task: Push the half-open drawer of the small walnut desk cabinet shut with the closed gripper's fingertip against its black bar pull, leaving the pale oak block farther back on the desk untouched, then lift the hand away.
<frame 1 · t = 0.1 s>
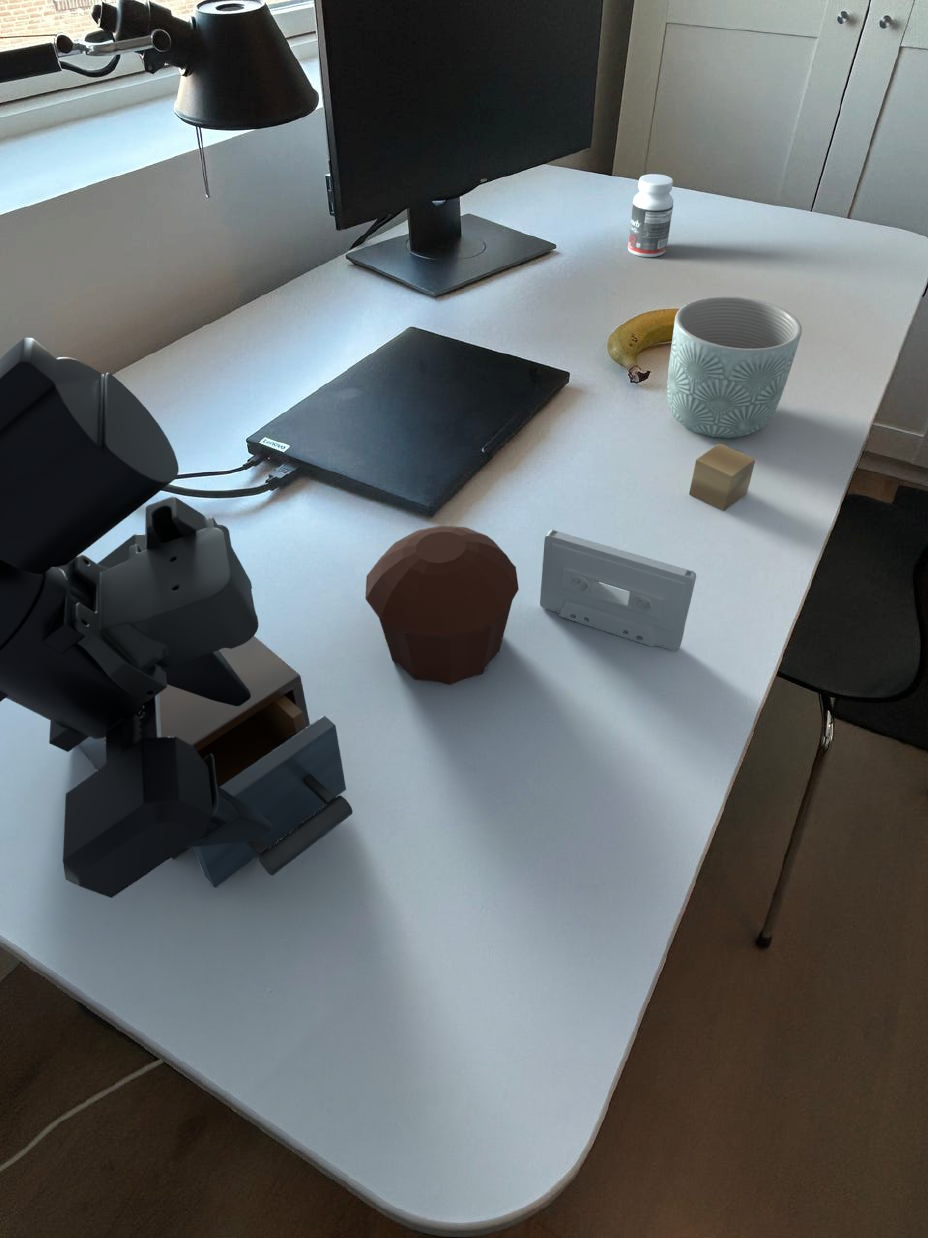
hand: (254, 761, 47), 12 cm above the table, tool tilted 30°, fingers open, 9 cm apart
planter: (716, 419, 96), on the table
pill bottle: (646, 252, 130), on the table
oak block: (717, 494, 85), on the table
drawer: (236, 766, 56), point 4 cm above the table, slide at 3.0 cm
muffin: (443, 646, 71), on the table
cabinet: (194, 749, 63), on the table
cassette: (608, 627, 72), on the table
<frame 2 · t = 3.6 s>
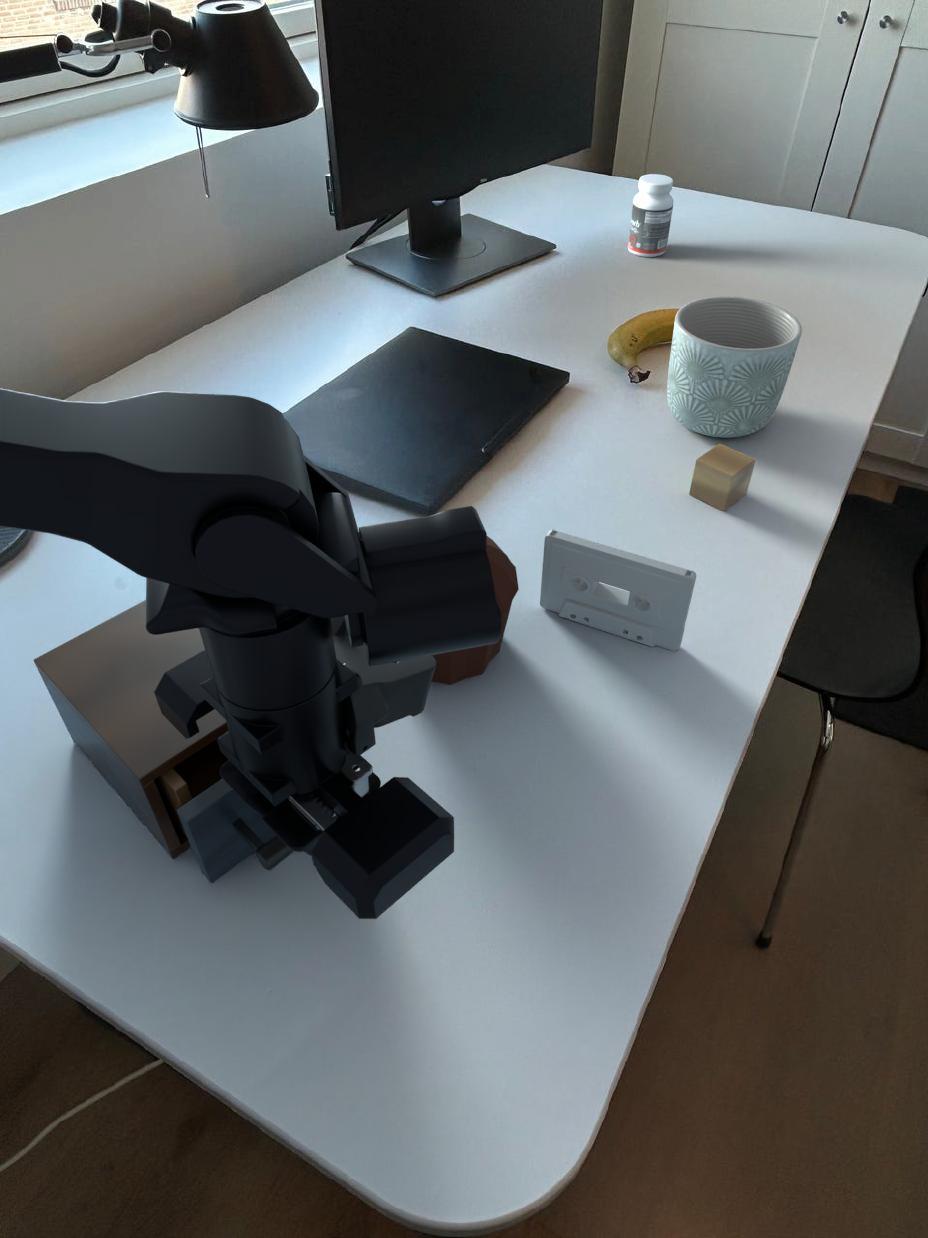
hand: (315, 847, 52), 4 cm above the table, tool pointing down, fingers closed
drawer: (232, 763, 57), point 4 cm above the table, slide at 2.6 cm, touching gripper
everything else where it was.
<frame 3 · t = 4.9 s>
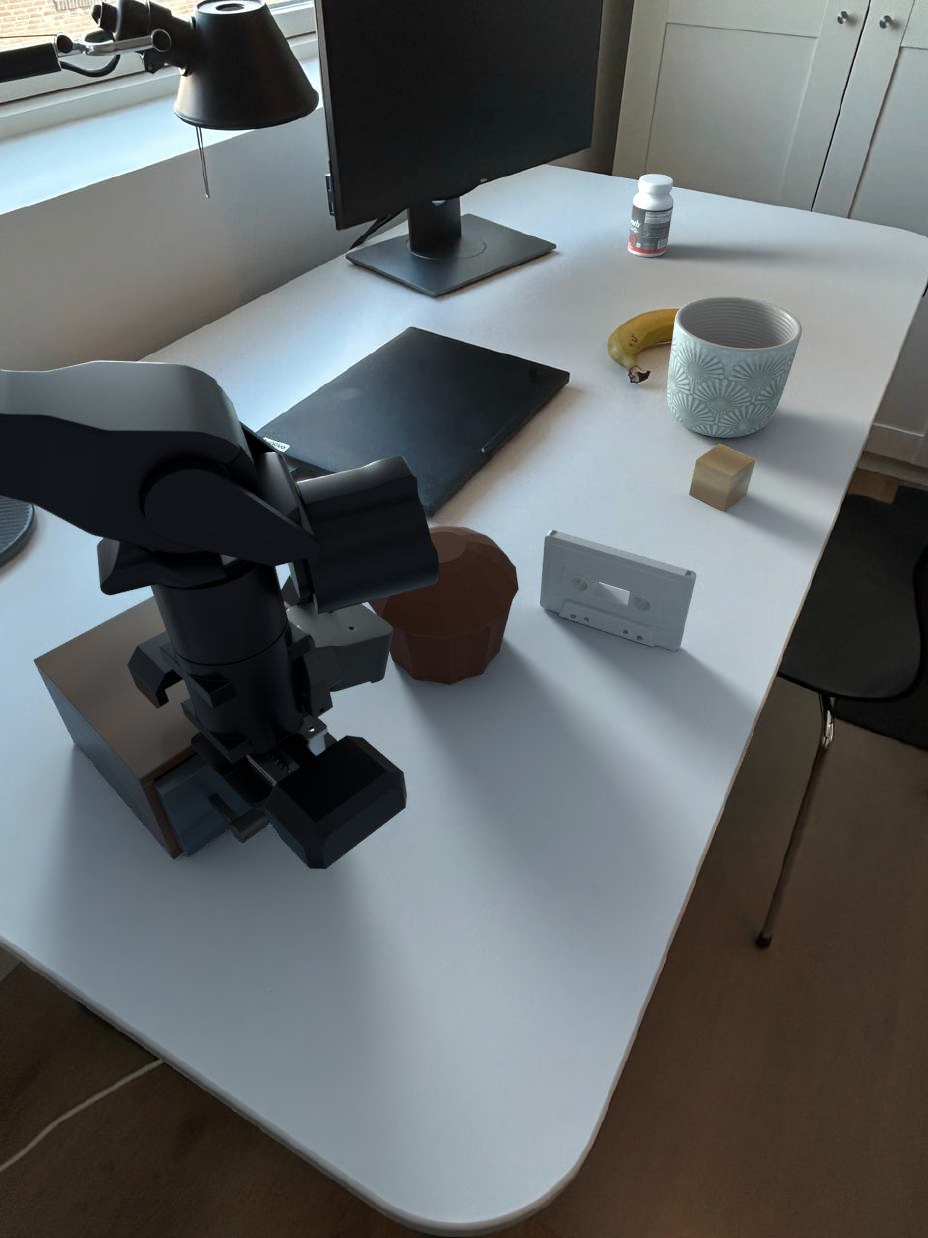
hand: (285, 817, 53), 4 cm above the table, tool pointing down, fingers closed, pressing on drawer
drawer: (210, 740, 58), point 4 cm above the table, slide at 0.0 cm, touching cabinet, gripper
everything else where it was.
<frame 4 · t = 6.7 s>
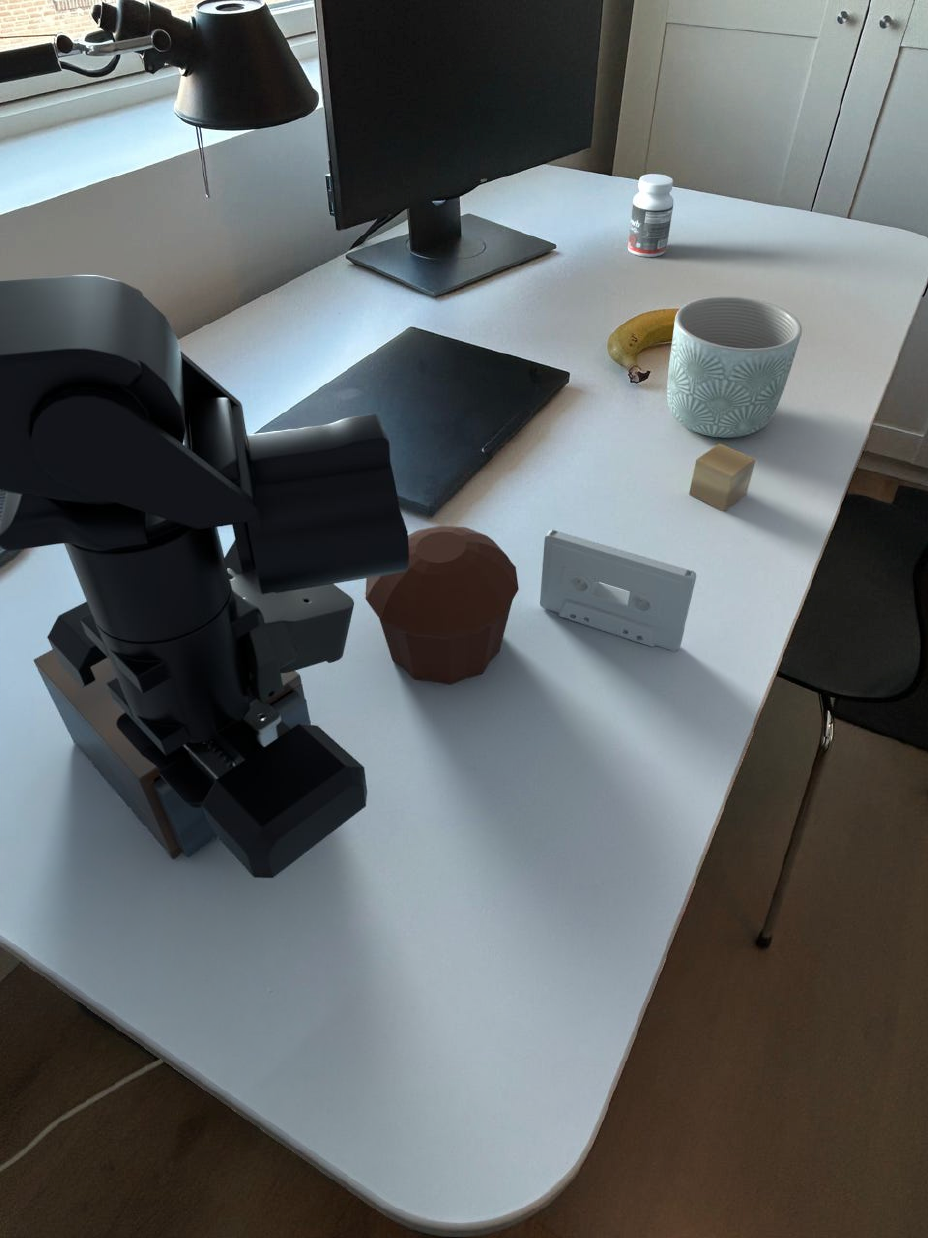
hand: (229, 809, 48), 10 cm above the table, tool pointing down, fingers closed
drawer: (210, 740, 58), point 4 cm above the table, slide at 0.0 cm, touching cabinet
everything else where it was.
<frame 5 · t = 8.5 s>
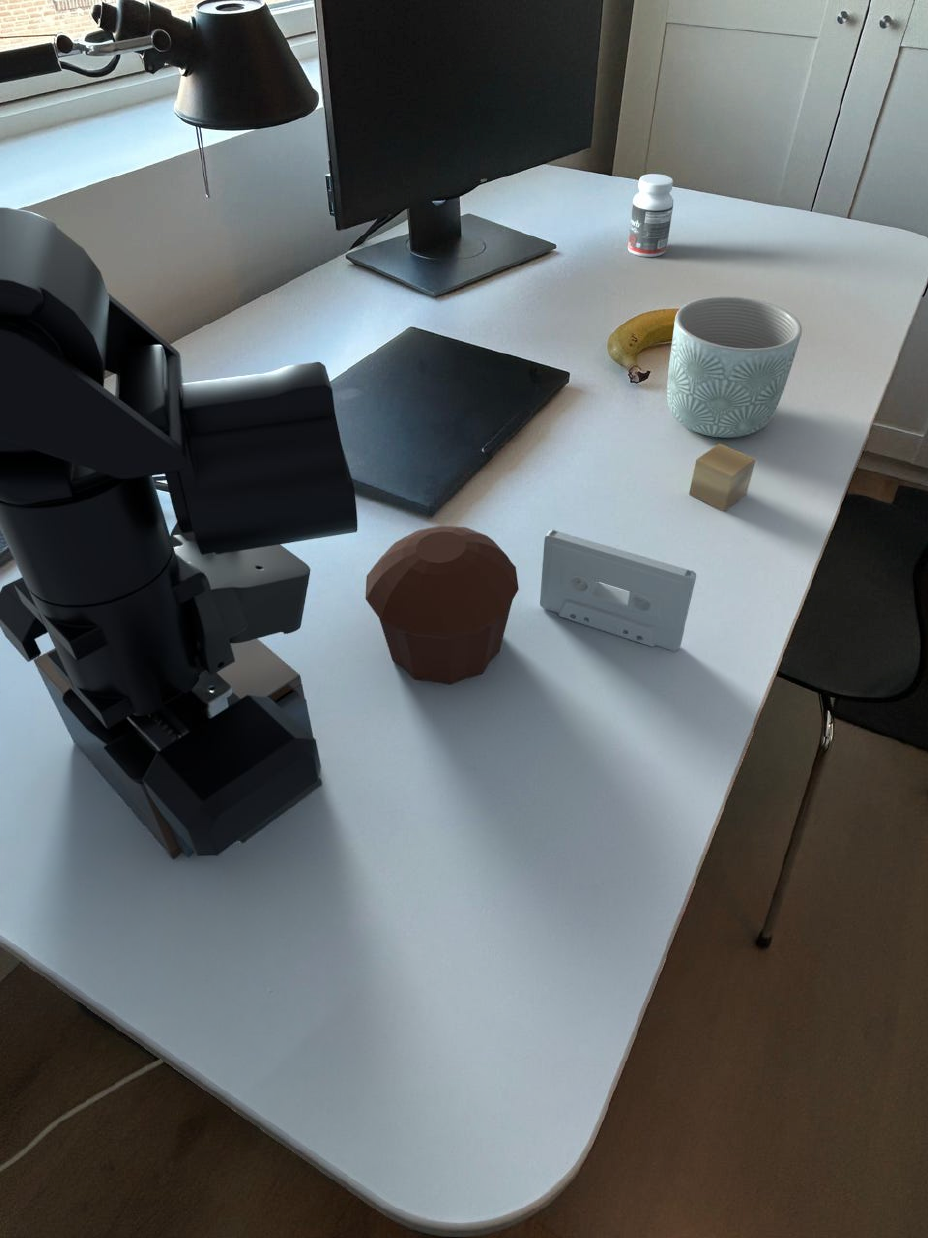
hand: (186, 790, 46), 12 cm above the table, tool pointing down, fingers closed
nothing on the table moved.
at the end: drawer slide at 0.0 cm; oak block moved 0.0 cm from its start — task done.
